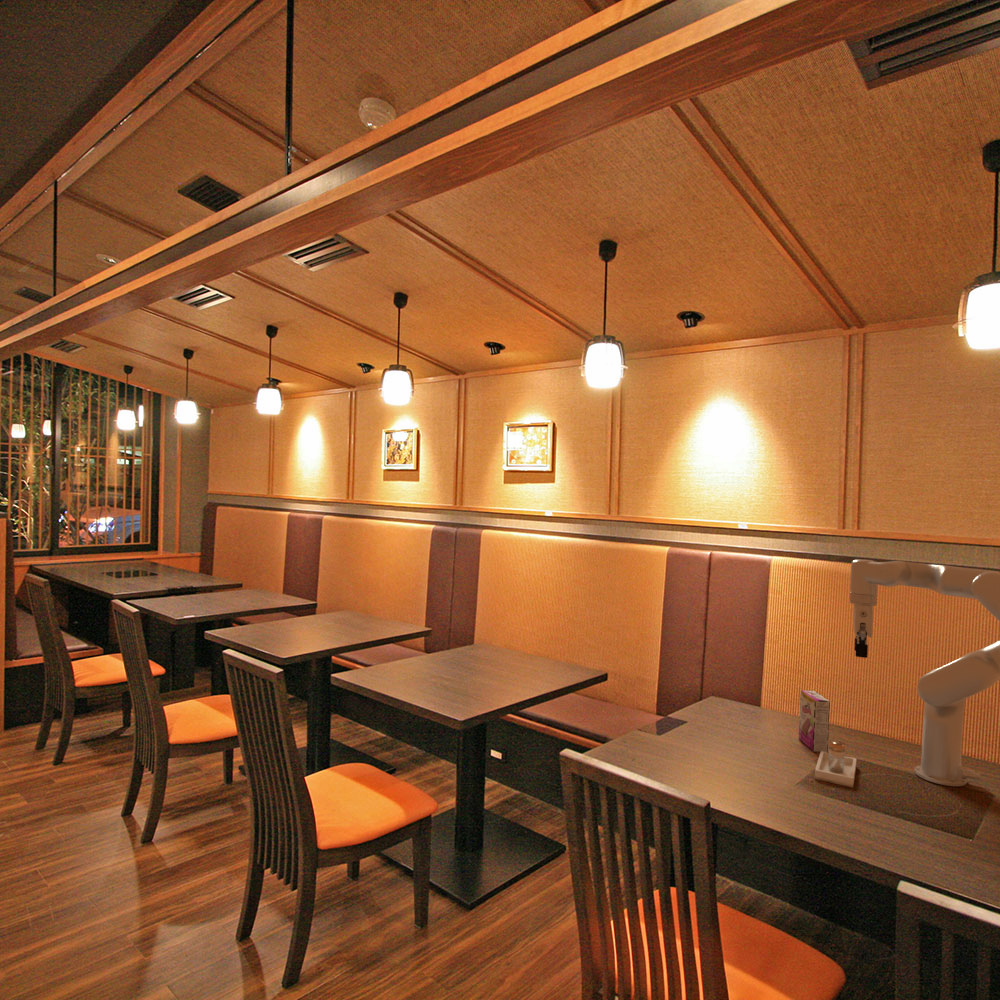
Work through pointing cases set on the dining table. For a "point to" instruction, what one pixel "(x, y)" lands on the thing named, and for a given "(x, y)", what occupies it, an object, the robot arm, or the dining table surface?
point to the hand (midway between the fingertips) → (860, 654)
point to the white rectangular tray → (832, 777)
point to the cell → (836, 756)
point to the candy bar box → (814, 720)
